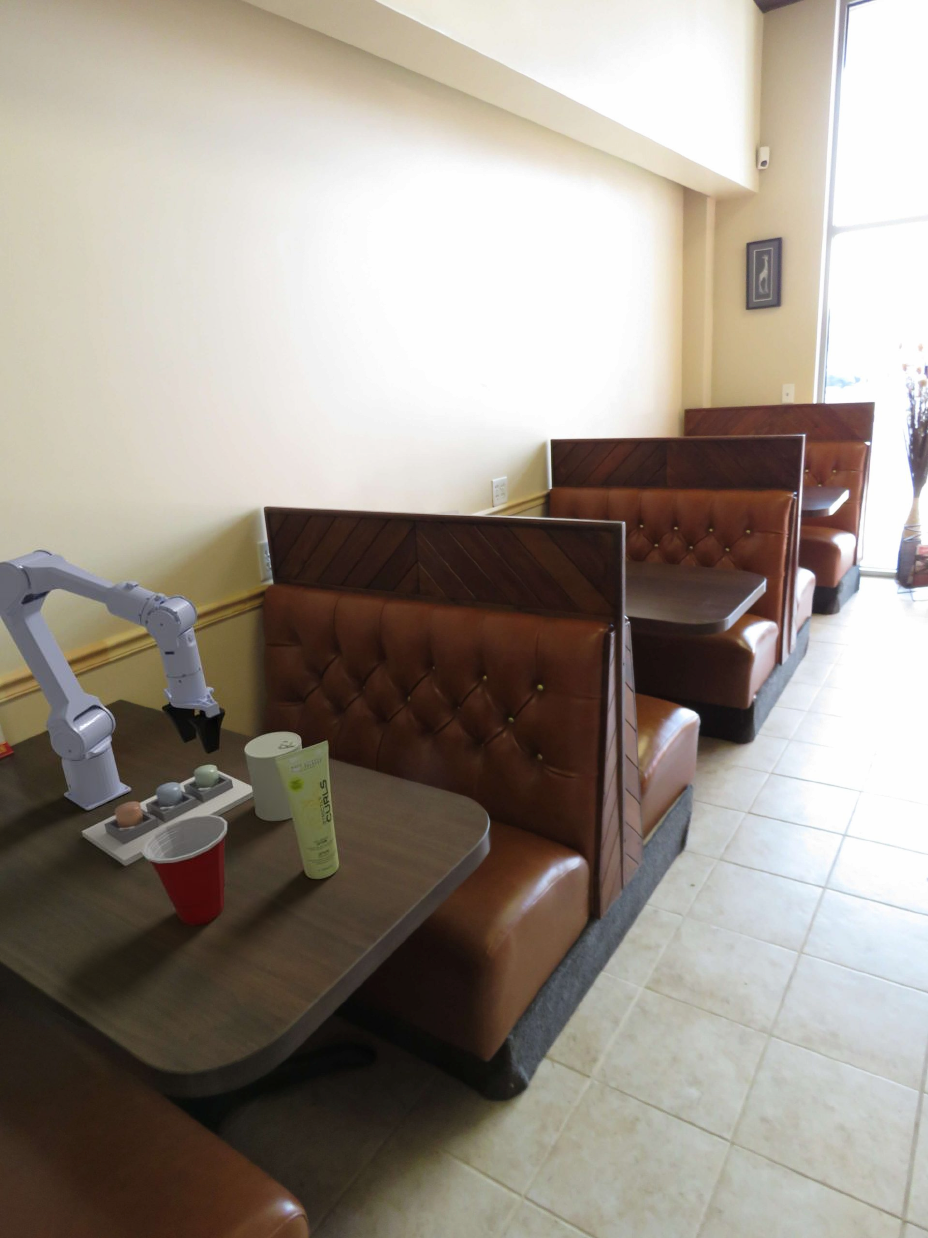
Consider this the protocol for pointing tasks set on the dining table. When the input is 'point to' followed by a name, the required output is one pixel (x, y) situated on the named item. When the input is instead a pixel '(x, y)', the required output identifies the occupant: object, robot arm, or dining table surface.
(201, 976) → the dining table surface
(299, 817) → the tube
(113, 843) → the console
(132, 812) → the peach button
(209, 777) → the sage button
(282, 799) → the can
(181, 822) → the plastic cup
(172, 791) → the slate button
